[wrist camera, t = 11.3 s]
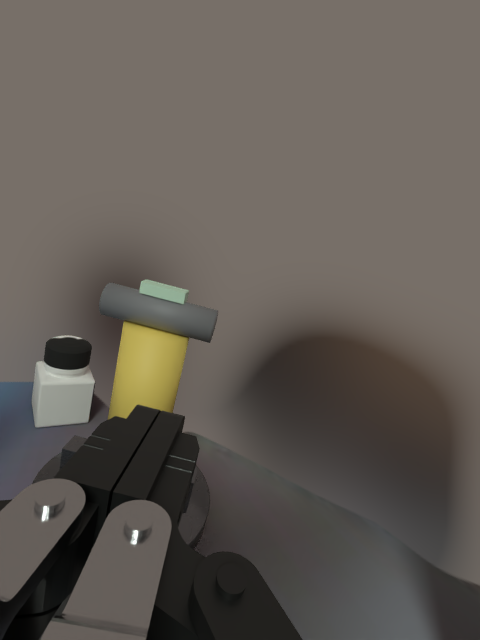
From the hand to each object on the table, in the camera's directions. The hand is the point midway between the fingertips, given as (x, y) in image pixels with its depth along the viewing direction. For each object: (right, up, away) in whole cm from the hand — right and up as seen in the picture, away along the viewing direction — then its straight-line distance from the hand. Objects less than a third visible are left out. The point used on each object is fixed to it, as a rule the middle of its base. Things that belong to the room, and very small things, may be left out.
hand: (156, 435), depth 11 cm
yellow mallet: (-9, -13, +26) cm, 30 cm away
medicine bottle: (-25, -11, +43) cm, 51 cm away
